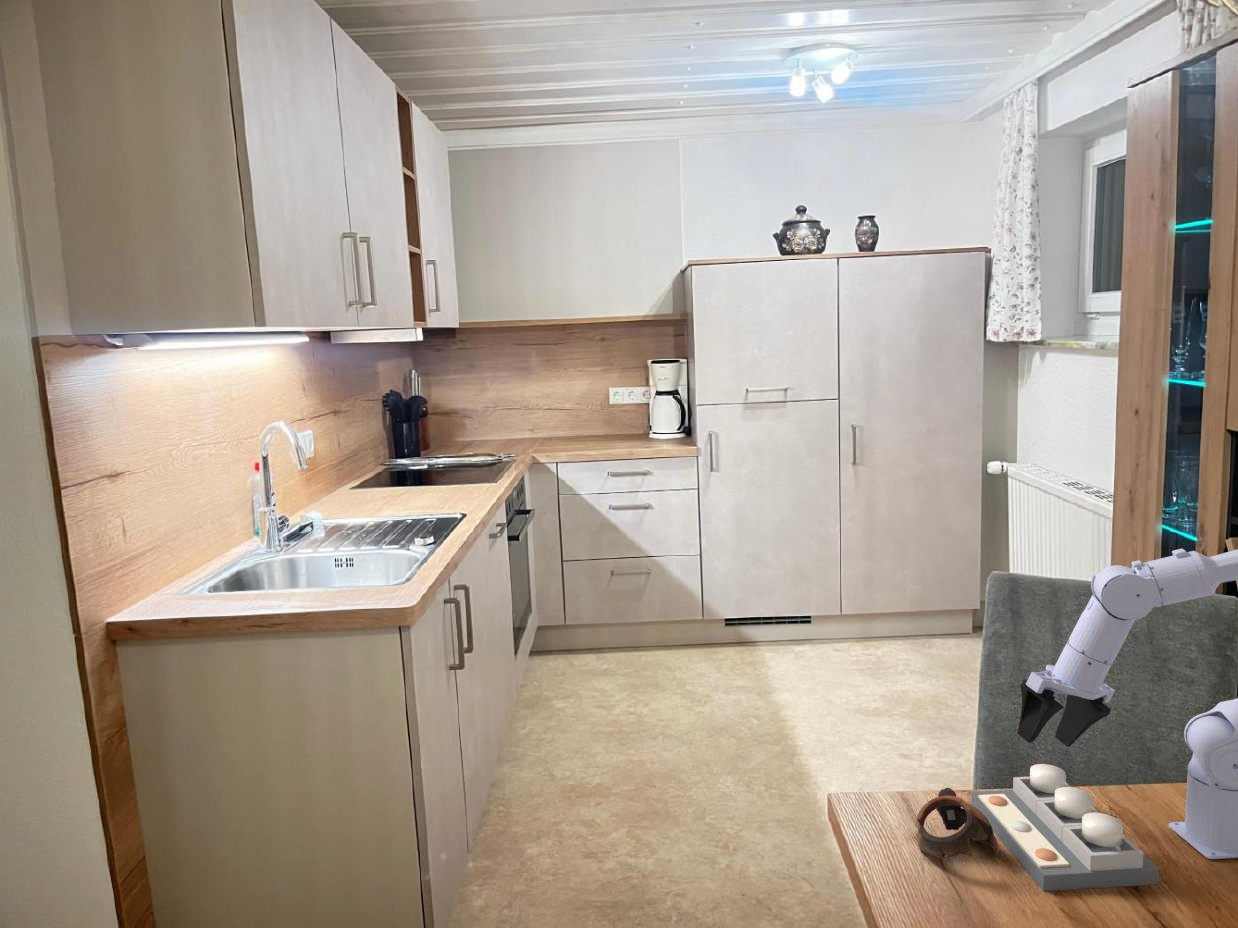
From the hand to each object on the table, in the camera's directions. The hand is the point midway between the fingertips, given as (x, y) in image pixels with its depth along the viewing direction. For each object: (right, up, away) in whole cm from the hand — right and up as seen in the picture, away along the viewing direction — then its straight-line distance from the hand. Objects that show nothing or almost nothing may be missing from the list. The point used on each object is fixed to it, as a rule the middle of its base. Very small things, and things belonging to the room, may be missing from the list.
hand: (1043, 739), depth 120 cm
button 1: (+2, -7, +3) cm, 8 cm away
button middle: (+2, -8, -4) cm, 9 cm away
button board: (0, -12, -3) cm, 13 cm away
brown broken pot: (-13, -13, -4) cm, 19 cm away
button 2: (+2, -9, -10) cm, 14 cm away
